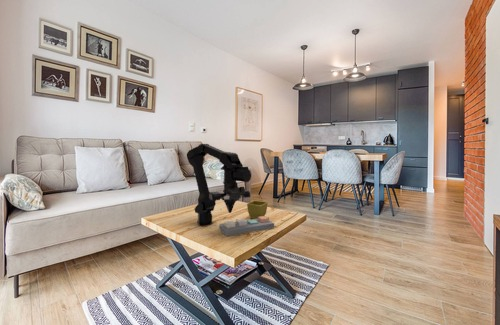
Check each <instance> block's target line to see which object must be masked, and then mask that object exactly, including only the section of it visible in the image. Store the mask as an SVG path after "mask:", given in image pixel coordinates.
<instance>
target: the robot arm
mask: <svg viewBox="0 0 500 325" xmlns="http://www.w3.org/2000/svg"><path fill="white" fill-rule="evenodd" d="M207 155H210V156H211V157H213V158H215V159H217V160H219V162H220V163H221V164H222V165H223V166H221V168H220V170H221V171H223V181H222V183H223V192H222V193H221V192H219V191H211V192H210V190H209V187H208V181H207V178H206V174H205V170H204V166H203V165H204V161H205V156H207ZM186 159H187V161H188V164H190V166H191V167H192V169H193V172H194V176H195V181H196V186H197V189H198V194H199V195H198V198H197V205H196V206H195V207H194V212H195V214H197V221H196V222H197V224H198V226H207V225H208V226H209V225H213V214H212V212H213V211H215V206H216V204H217V203H216V202H217V201H220V200H222V201H223V202H224V204H225V206H226V209H227V211H228V214H231V213H232V211H233V208H234V206H235V203H236V202H237V201H238V200H240V199H241V197H243V198H250V197H251V192H250V191H249V190H247V189H246V188H245V187H244V186H240V187H239V186H238V182H242V183H243V182H244V183H249V182H250V180H251V179H252V172H251V170H250V169H249V166H244V165H243V163H242V162H241V160H240V158H239V155H238V154H237V153H236V152H230V151H224V150H221V149H219V148H217V147H215V146H212V145H210V144H208V143H200V144H198V145H197V146H196V147H193V148H191V149H189V150H188V152H187V153H186Z"/></svg>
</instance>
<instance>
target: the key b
mask: <svg viewBox="0 0 500 325" xmlns="http://www.w3.org/2000/svg"><path fill="white" fill-rule="evenodd" d="M246 220H247V219H245V218H240V219H236V220H235V222H236V225H237V226H239V227H240V226H247V221H246Z"/></svg>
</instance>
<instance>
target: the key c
mask: <svg viewBox="0 0 500 325" xmlns="http://www.w3.org/2000/svg"><path fill="white" fill-rule="evenodd" d="M248 220H249V221H247V223H248V224H250V225H253V224H258V222H257V221H255V220H251V219H248Z"/></svg>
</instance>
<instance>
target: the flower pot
mask: <svg viewBox="0 0 500 325" xmlns="http://www.w3.org/2000/svg"><path fill="white" fill-rule="evenodd" d="M246 206H247V207H246V208H247V213H248V215H249V217H250V218H251V219H258V217H261V216H266V213H267V211H268V202H267V201H260V200H252V201H250V202H247V203H246ZM251 219H250V220H251Z"/></svg>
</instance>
